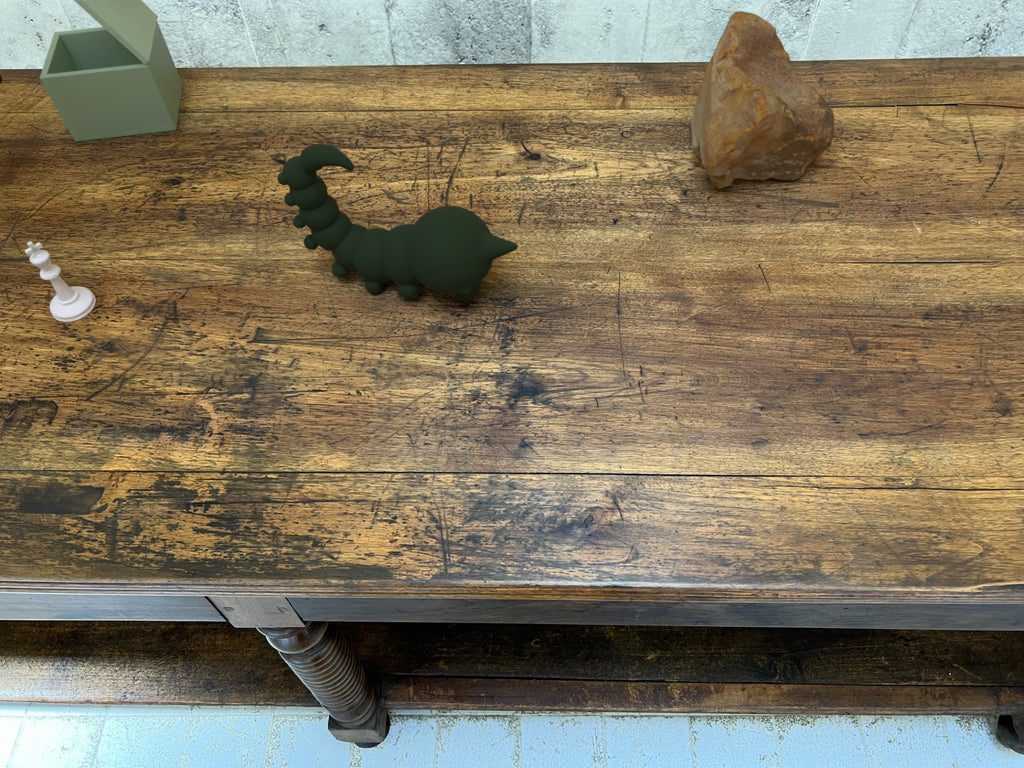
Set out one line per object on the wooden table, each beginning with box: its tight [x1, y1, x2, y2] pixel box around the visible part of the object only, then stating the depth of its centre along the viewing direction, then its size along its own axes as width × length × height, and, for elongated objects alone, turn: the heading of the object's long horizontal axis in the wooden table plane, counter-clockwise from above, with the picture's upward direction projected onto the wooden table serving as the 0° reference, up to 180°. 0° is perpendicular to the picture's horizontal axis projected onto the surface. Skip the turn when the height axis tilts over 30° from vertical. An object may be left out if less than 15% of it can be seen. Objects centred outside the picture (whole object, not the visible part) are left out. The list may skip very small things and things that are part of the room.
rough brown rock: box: [690, 10, 835, 189], centre depth 100 cm, size 23×17×15 cm
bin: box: [39, 21, 184, 143], centre depth 111 cm, size 14×11×10 cm
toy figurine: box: [276, 143, 519, 302], centre depth 87 cm, size 9×19×25 cm
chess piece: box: [24, 240, 97, 323], centre depth 90 cm, size 5×5×10 cm
